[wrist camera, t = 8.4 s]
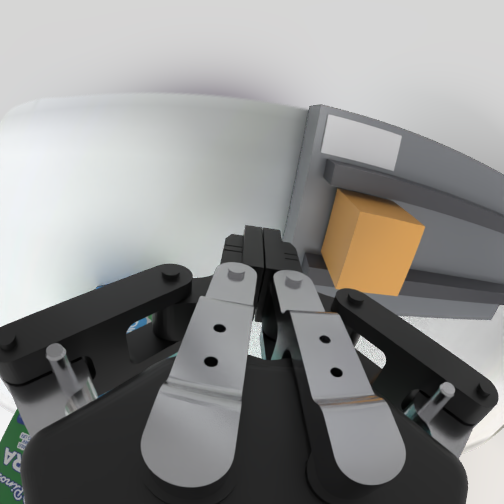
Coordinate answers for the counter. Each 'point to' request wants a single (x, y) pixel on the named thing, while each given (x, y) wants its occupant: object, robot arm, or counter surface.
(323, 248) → the switch knob
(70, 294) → the counter surface
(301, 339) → the robot arm
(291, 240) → the switch plate
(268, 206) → the counter surface
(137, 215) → the counter surface
